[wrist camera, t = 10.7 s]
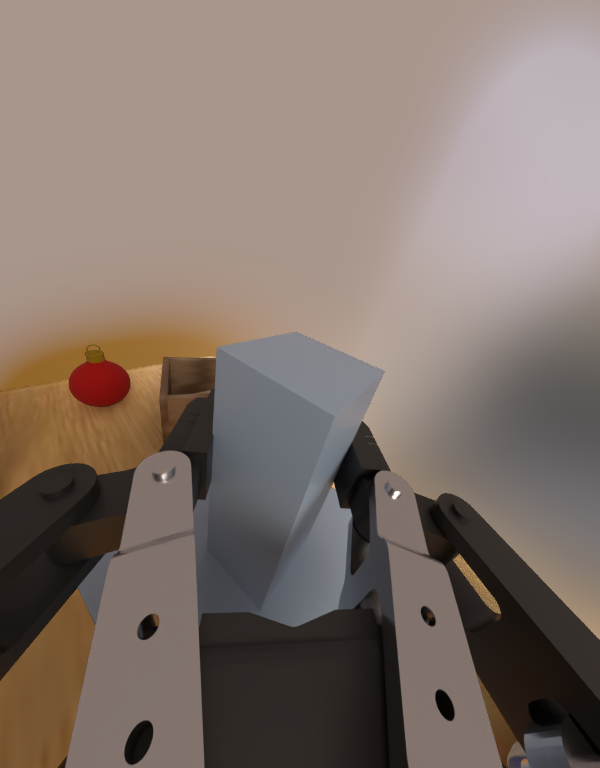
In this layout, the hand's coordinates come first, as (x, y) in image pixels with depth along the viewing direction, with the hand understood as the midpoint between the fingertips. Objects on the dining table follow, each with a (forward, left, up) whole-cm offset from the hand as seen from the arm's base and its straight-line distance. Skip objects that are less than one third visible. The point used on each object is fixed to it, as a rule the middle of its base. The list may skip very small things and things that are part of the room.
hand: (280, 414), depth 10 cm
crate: (-1, +24, -21) cm, 32 cm away
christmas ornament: (-15, +31, -21) cm, 40 cm away
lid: (-1, -3, -8) cm, 9 cm away
